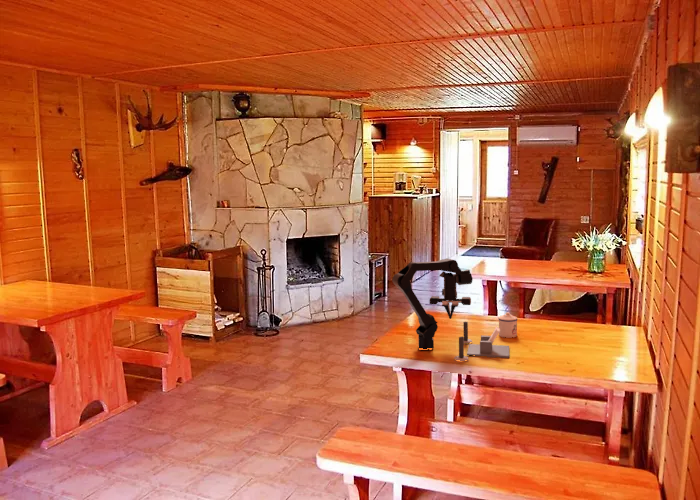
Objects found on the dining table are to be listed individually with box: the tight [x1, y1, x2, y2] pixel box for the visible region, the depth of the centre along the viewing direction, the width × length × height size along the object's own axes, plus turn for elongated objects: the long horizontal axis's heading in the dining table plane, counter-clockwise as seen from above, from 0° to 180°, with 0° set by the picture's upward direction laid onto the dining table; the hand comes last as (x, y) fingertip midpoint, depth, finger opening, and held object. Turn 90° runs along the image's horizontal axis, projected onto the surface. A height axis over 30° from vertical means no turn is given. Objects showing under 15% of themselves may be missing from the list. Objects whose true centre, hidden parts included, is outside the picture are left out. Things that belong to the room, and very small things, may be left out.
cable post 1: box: [453, 336, 469, 361], centre depth 249 cm, size 6×6×10 cm
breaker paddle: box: [488, 326, 500, 344], centre depth 259 cm, size 2×6×10 cm, turn 165°
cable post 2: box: [462, 321, 473, 343], centre depth 276 cm, size 6×6×10 cm
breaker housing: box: [466, 335, 510, 359], centre depth 260 cm, size 18×16×6 cm
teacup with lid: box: [498, 311, 518, 338], centre depth 287 cm, size 12×9×12 cm
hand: (450, 318), depth 270 cm, fingers closed
